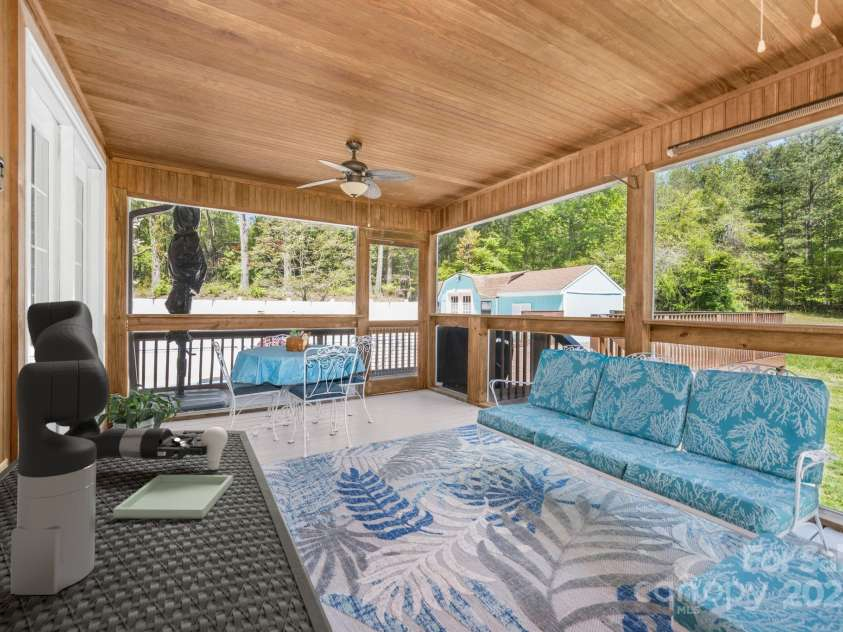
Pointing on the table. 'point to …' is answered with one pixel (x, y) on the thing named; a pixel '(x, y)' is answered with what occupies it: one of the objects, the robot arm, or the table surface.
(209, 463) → the lightbulb
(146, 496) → the parts tray
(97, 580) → the table surface
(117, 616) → the table surface
